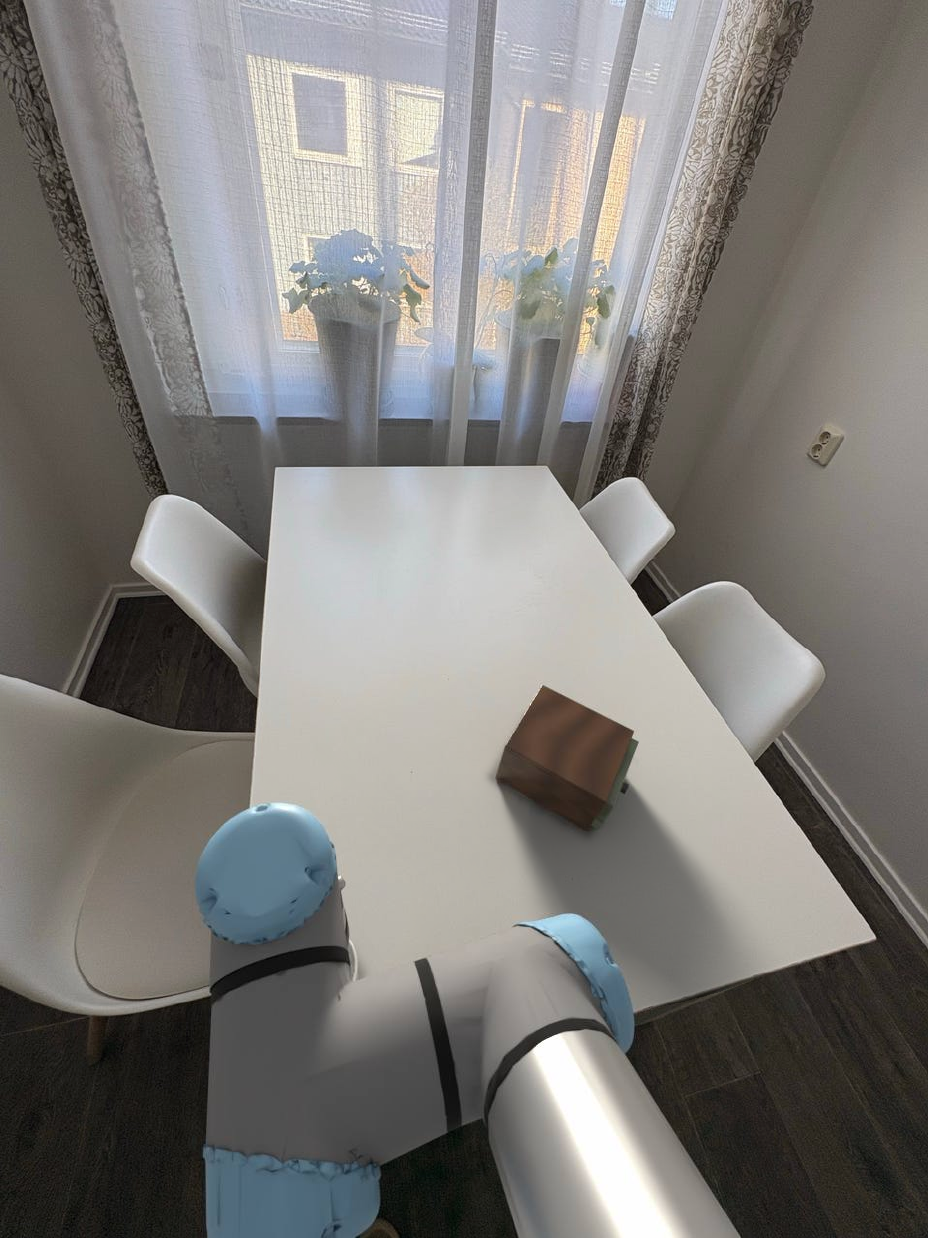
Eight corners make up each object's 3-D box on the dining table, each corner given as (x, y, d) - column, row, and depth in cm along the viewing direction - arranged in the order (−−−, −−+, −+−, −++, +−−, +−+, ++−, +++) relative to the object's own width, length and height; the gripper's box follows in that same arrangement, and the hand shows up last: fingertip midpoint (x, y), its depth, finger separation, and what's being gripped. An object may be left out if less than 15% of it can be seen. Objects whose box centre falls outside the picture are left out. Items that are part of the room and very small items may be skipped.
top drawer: (630, 770, 79) (647, 745, 74) (606, 834, 71) (622, 811, 66) (543, 724, 83) (553, 698, 78) (512, 780, 76) (521, 754, 71)
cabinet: (614, 763, 81) (634, 730, 74) (586, 831, 72) (606, 802, 66) (530, 718, 85) (542, 684, 79) (495, 778, 77) (504, 745, 70)
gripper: (419, 1023, 36) (410, 1056, 52) (278, 798, 46) (306, 883, 62) (324, 1120, 32) (346, 1123, 48) (193, 851, 43) (247, 927, 59)
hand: (323, 987), depth 55 cm, fingers open, 8 cm apart
